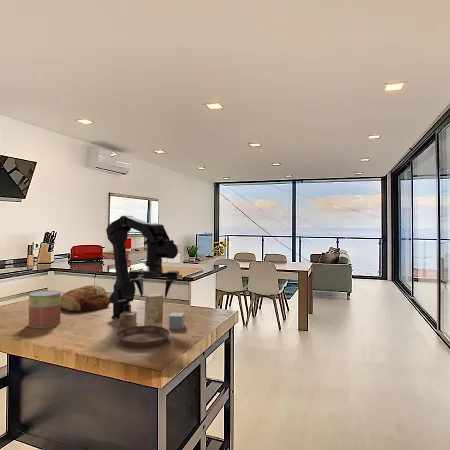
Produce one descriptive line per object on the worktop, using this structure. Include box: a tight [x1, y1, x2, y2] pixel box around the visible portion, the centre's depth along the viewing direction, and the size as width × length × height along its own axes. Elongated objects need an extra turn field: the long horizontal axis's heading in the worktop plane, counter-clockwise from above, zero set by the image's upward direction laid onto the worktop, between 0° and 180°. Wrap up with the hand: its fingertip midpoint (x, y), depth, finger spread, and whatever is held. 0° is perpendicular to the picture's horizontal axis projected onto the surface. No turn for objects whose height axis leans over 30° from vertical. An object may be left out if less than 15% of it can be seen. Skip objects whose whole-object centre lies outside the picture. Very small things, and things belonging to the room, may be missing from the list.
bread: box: [61, 284, 111, 312], centre depth 169 cm, size 20×18×10 cm
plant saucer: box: [115, 325, 171, 349], centre depth 123 cm, size 18×18×3 cm
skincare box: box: [143, 293, 164, 327], centre depth 139 cm, size 6×4×12 cm
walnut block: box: [119, 311, 137, 329], centre depth 140 cm, size 5×5×5 cm
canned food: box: [27, 289, 62, 329], centre depth 142 cm, size 11×11×12 cm
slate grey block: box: [168, 312, 186, 330], centre depth 139 cm, size 5×5×5 cm
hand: (153, 297), depth 139 cm, fingers open, 9 cm apart
